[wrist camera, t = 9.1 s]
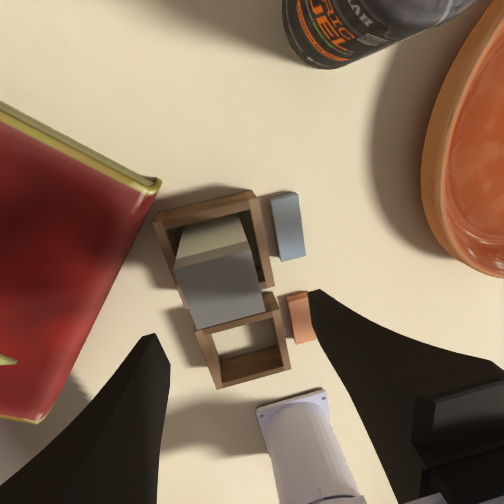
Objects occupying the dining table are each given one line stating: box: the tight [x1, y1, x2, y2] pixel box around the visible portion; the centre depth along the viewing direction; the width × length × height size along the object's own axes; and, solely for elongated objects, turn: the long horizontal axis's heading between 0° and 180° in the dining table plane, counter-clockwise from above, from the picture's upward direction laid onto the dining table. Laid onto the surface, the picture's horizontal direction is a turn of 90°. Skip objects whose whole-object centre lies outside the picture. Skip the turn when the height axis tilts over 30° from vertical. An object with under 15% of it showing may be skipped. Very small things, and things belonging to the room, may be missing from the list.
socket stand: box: [152, 190, 316, 390], centre depth 22 cm, size 16×10×2 cm, turn 12°
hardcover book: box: [0, 101, 162, 424], centre depth 18 cm, size 12×21×4 cm, turn 149°
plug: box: [173, 213, 265, 330], centre depth 17 cm, size 4×4×7 cm
